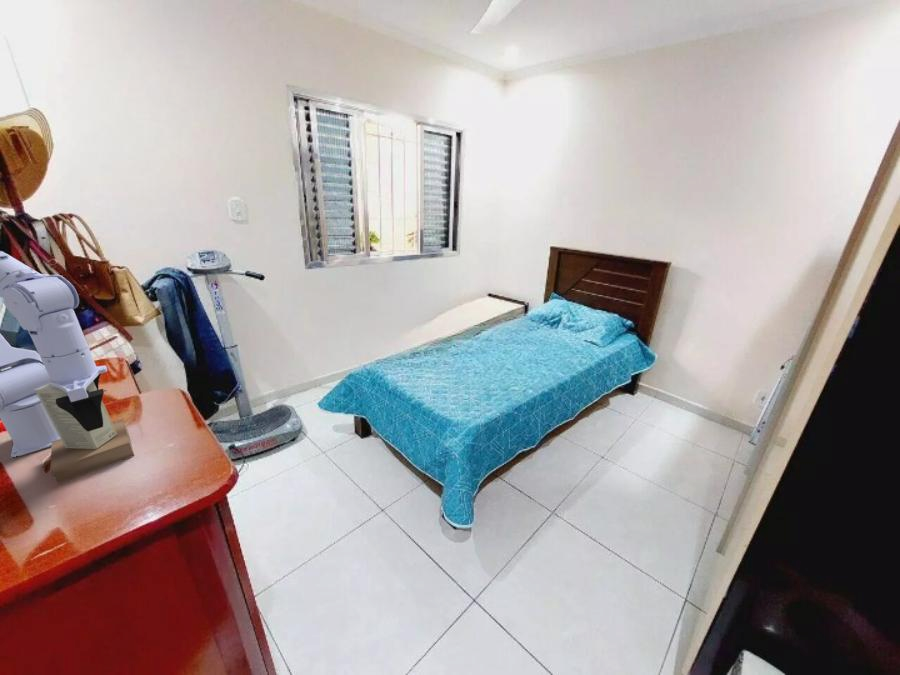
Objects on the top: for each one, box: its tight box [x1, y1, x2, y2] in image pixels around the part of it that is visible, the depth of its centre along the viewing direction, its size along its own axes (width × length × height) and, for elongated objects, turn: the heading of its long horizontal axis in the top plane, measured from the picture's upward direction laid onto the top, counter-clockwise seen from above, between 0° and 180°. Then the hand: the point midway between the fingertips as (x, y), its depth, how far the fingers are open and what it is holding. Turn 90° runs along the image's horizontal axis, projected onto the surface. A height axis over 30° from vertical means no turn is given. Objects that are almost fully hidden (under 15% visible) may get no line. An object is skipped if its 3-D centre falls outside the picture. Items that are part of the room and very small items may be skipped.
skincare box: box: [35, 381, 117, 449], centre depth 63 cm, size 6×4×12 cm
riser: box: [49, 419, 135, 485], centre depth 66 cm, size 10×10×3 cm
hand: (94, 419), depth 65 cm, fingers closed on skincare box, 7 cm apart
